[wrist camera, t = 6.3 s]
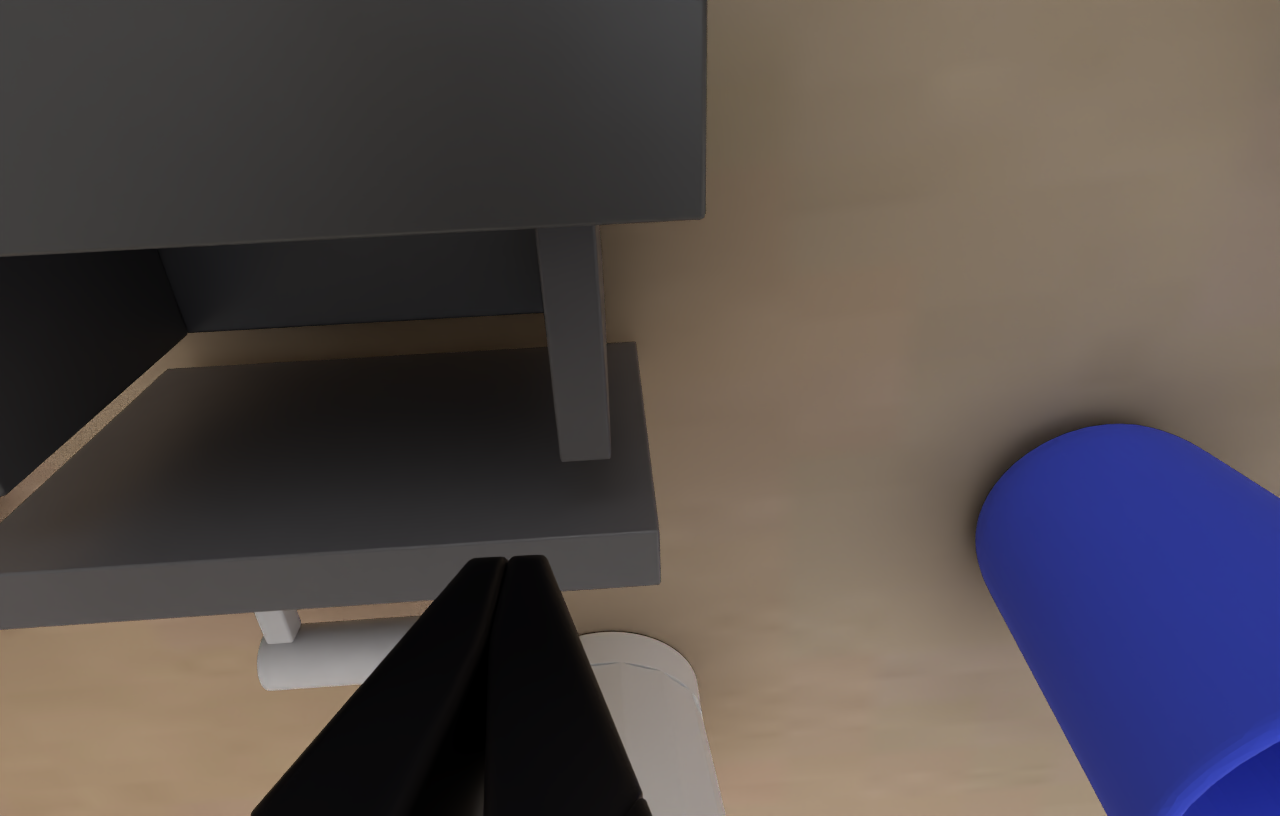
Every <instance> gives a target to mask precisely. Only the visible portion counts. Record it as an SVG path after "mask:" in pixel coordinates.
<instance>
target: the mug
mask: <svg viewBox="0 0 1280 816" xmlns="http://www.w3.org/2000/svg"><path fill="white" fill-rule="evenodd" d="M975 543H976V554H977V559H978V564H979V567H980V570H981V573H982V576H983V579H984V581H985V583H986V585H987V587H988V590H989V592H990V594H991V596H992V598H993V599H994V601H995V603H996V605H997V607H998V609H999V611H1000V613H1001V615H1002V616H1003V618H1004V620H1005V622H1006V624H1007V626H1008V628H1009V630H1010V632H1011V634H1012V635H1013V637H1014V639H1015V641H1016V643H1017V645H1018V647H1019V649H1020V651H1021V653H1022V654H1023V656H1024V658H1025V660H1026V662H1027V664H1028V666H1029V668H1030V670H1031V671H1032V673H1033V675H1034V677H1035V679H1036V681H1037V683H1038V685H1039V687H1040V689H1041V690H1042V692H1043V694H1044V696H1045V698H1046V700H1047V702H1048V704H1049V706H1050V708H1051V709H1052V711H1053V713H1054V715H1055V717H1056V719H1057V721H1058V723H1059V725H1060V726H1061V728H1062V730H1063V732H1064V734H1065V736H1066V738H1067V740H1068V742H1069V744H1070V745H1071V747H1072V749H1073V751H1074V753H1075V755H1076V757H1077V759H1078V761H1079V763H1080V764H1081V766H1082V768H1083V770H1084V772H1085V774H1086V776H1087V778H1088V780H1089V781H1090V783H1091V785H1092V787H1093V789H1094V791H1095V793H1096V795H1097V797H1098V799H1099V800H1100V802H1101V804H1102V806H1103V808H1104V810H1105V812H1106V814H1107V816H1280V498H1278V497H1277V496H1275V495H1274V494H1272V493H1271V492H1269V491H1267V490H1266V489H1264V488H1263V487H1261V486H1260V485H1258V484H1256V483H1255V482H1253V481H1252V480H1250V479H1249V478H1247V477H1245V476H1244V475H1242V474H1241V473H1239V472H1237V471H1236V470H1234V469H1233V468H1231V467H1230V466H1228V465H1226V464H1225V463H1223V462H1222V461H1220V460H1219V459H1217V458H1215V457H1214V456H1212V455H1211V454H1209V453H1208V452H1206V451H1204V450H1202V449H1201V448H1199V447H1197V446H1196V445H1194V444H1192V443H1190V442H1189V441H1187V440H1184V439H1182V438H1180V437H1178V436H1175V435H1173V434H1170V433H1167V432H1164V431H1162V430H1158V429H1155V428H1151V427H1146V426H1140V425H1134V424H1105V425H1097V426H1090V427H1085V428H1082V429H1078V430H1075V431H1072V432H1068V433H1065V434H1063V435H1060V436H1058V437H1056V438H1054V439H1051V440H1049V441H1047V442H1045V443H1043V444H1041V445H1040V446H1038V447H1037V448H1035V449H1034V450H1032V451H1030V452H1029V453H1027V454H1026V455H1024V456H1023V457H1022V458H1021V459H1019V460H1018V461H1017V462H1016V463H1014V464H1013V465H1012V466H1011V467H1010V468H1009V469H1008V470H1007V471H1006V472H1005V473H1004V474H1003V475H1002V477H1001V478H1000V479H999V480H998V481H997V483H996V484H995V485H994V487H993V488H992V490H991V491H990V493H989V494H988V496H987V498H986V500H985V502H984V504H983V506H982V509H981V511H980V514H979V517H978V522H977V527H976V535H975Z"/></svg>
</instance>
